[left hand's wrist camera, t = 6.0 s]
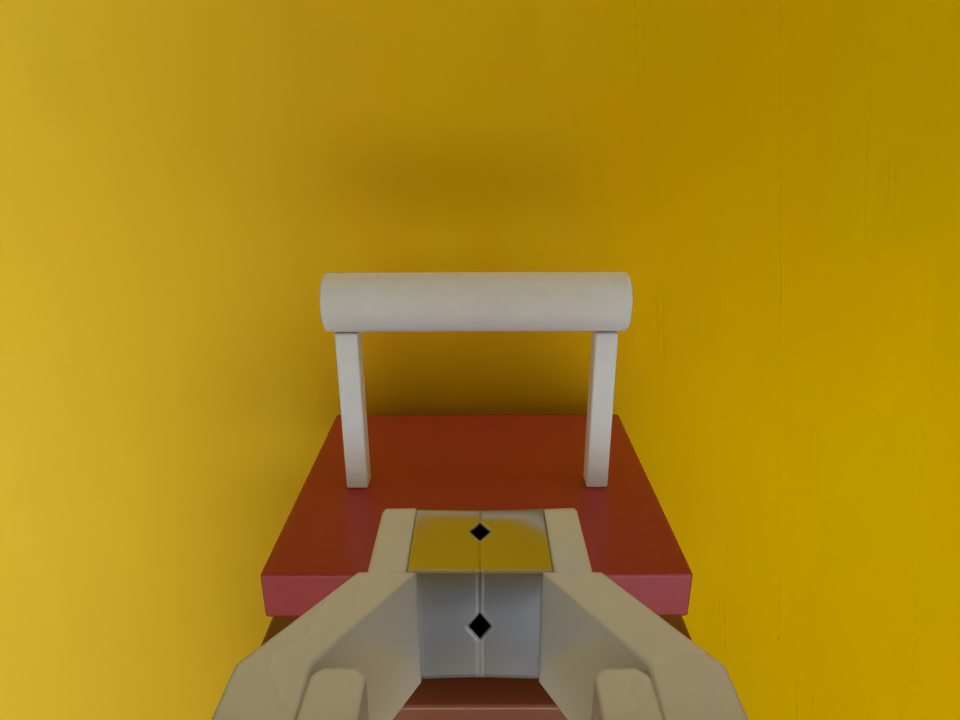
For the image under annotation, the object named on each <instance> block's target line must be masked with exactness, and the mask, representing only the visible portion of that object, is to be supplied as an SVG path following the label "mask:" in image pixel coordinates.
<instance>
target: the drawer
mask: <svg viewBox="0 0 960 720" xmlns="http://www.w3.org/2000/svg"><path fill="white" fill-rule="evenodd" d="M632 307H633V292H632V283H631V279H630V276H629V274H628V273H627V272H327V273H325V274H324V275H323V278H322V281H321V286H320V314H321V320H322V324H323V326H324V329H325V330H326V331H327V332H336V333H335V347H336V359H337V371H338V383H339V396H340V408H341V415H338V416H337V417H336V419H335V421H334V423H333V425H332V427H331V429H330V432H329V434H328V436H327V438H326V440H325V442H324V444H323V446H322V448H321V450H320V452H319V454H318V457H317V459H316V461H315V463H314V465H313V467H312V469H311V471H310V473H309V475H308V477H307V479H306V482H305V484H304V486H303V488H302V490H301V492H300V494H299V496H298V498H297V500H296V502H295V504H294V507H293V509H292V511H291V513H290V515H289V517H288V519H287V521H286V523H285V525H284V527H283V529H282V532H281V534H280V536H279V538H278V540H277V542H276V544H275V546H274V548H273V550H272V552H271V555H270V557H269V559H268V561H267V563H266V565H265V567H264V569H263V571H262V573H261V582H262V589H263V597H264V604H265V611H266V615H267V616H302V615H303V614H304V613H306V612H307V611H308V610H310V609H311V608H312V607H313V606H315V605H316V604H317V603H319V602H320V601H321V600H323V599H324V598H325V597H327V596H328V595H329V594H331V593H332V592H333V591H335V590H336V589H337V588H339V587H340V586H341V585H342V584H344V583H345V582H346V581H348V580H349V579H350V578H352V577H353V576H354V575H356V574H357V573H359V572H368V569H369V565H370V561H371V557H372V553H373V549H374V545H375V541H376V537H377V533H378V529H379V525H380V521H381V517H382V513H383V512H384V510H385V509H389V508H416V509H417V510H418V509H465V510H480V511H494V510H534V509H558V508H574V509H575V510H576V511H577V514H578V518H579V521H580V525H581V529H582V533H583V537H584V541H585V545H586V549H587V553H588V557H589V561H590V565H591V569H592V572H601V573H603V574H604V575H606V576H607V577H608V578H610V579H611V580H612V581H614V582H615V583H616V584H617V585H619V586H620V587H621V588H623V589H624V590H625V591H627V592H628V593H629V594H631V595H632V596H633V597H635V598H636V599H637V600H638V601H640V602H641V603H642V604H644V605H645V606H646V607H648V608H649V609H650V610H652V611H653V612H654V613H656V614H657V615H687V613H688V606H689V598H690V590H691V583H692V575H693V574H692V572H691V570H690V568H689V566H688V563H687V561H686V559H685V557H684V555H683V553H682V551H681V548H680V546H679V544H678V542H677V540H676V538H675V536H674V534H673V531H672V529H671V527H670V525H669V523H668V521H667V519H666V516H665V514H664V512H663V510H662V508H661V506H660V504H659V501H658V499H657V497H656V495H655V493H654V491H653V489H652V487H651V484H650V482H649V480H648V478H647V476H646V474H645V472H644V469H643V467H642V465H641V463H640V461H639V459H638V457H637V454H636V452H635V450H634V448H633V446H632V444H631V442H630V440H629V437H628V435H627V433H626V431H625V429H624V427H623V425H622V422H621V420H620V418H619V416H618V415H612V414H613V400H614V386H615V372H616V359H617V345H618V333H617V332H616V331H626V330H627V329H628V327H629V325H630V321H631V316H632ZM497 331H592V338H591V355H590V372H589V389H588V406H587V415H367V411H366V396H365V381H364V367H363V352H362V337H361V332H497Z"/></svg>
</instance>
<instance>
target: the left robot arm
mask: <svg viewBox="0 0 960 720" xmlns="http://www.w3.org/2000/svg"><path fill="white" fill-rule="evenodd" d="M459 677H500V678H535V679H539V682H540V684H541V685H542V686H543V688H544V689H545V690H546V692H547V693H548V694H549V696H550V697H551V698H552V700H553V701H554V702H555V704H556V705H557V706H558V708H559V709H560V710H561V711H562V713H563V714H564V715H565V717H566V718H567V719H568V720H749V719H748V717H747V715H746V713H745V710H744V708H743V706H742V704H741V702H740V699H739V697H738V695H737V693H736V690H735V688H734V686H733V684H732V681H731V679H730V677H729V675H728V672H727V670H726V668H725V666H724V665H722V664H721V663H720V662H719V661H717V660H716V659H715V658H713V657H712V656H711V655H709V654H708V653H707V652H705V651H704V650H703V649H701V648H700V647H699V646H698V645H696V644H695V643H694V642H692V641H691V640H690V639H688V638H687V637H686V636H684V635H683V634H682V633H680V632H679V631H678V630H677V629H675V628H674V627H673V626H671V625H670V624H669V623H667V622H666V621H665V620H663V619H662V618H661V617H659V616H658V615H657V614H656V613H654V612H653V611H652V610H650V609H649V608H648V607H646V606H645V605H644V604H642V603H641V602H640V601H638V600H637V599H636V598H635V597H633V596H632V595H631V594H629V593H628V592H627V591H625V590H624V589H623V588H621V587H620V586H619V585H617V584H616V583H615V582H614V581H612V580H611V579H610V578H608V577H607V576H606V575H604V574H603V573H601V572H592V569H591V565H590V561H589V557H588V553H587V549H586V545H585V541H584V537H583V533H582V529H581V525H580V521H579V518H578V514H577V511H576V510H575V509H574V508H558V509H534V510H494V511H480V510H465V509H418V510H417V509H416V508H389V509H385V510H384V512H383V513H382V517H381V521H380V525H379V529H378V533H377V537H376V541H375V545H374V549H373V553H372V557H371V561H370V565H369V569H368V572H359V573H357V574H356V575H354V576H353V577H352V578H350V579H349V580H348V581H346V582H345V583H344V584H342V585H341V586H340V587H339V588H337V589H336V590H335V591H333V592H332V593H331V594H329V595H328V596H327V597H325V598H324V599H323V600H321V601H320V602H319V603H317V604H316V605H315V606H313V607H312V608H311V609H310V610H308V611H307V612H306V613H304V614H303V615H302V616H300V617H299V618H298V619H296V620H295V621H294V622H292V623H291V624H290V625H288V626H287V627H286V628H284V629H283V630H282V631H281V632H279V633H278V634H277V635H275V636H274V637H273V638H271V639H270V640H269V641H267V642H266V643H265V644H263V645H262V646H261V647H259V648H258V649H257V650H255V651H254V652H253V653H251V654H250V655H249V656H248V657H246V658H245V659H244V660H242V661H241V662H240V663H238V664H237V665H236V666H235V669H234V671H233V673H232V675H231V677H230V680H229V682H228V684H227V686H226V689H225V691H224V693H223V695H222V697H221V700H220V702H219V704H218V706H217V708H216V711H215V713H214V715H213V717H212V720H393V719H394V717H395V716H396V715H397V713H398V712H399V711H400V709H401V708H402V707H403V705H404V704H405V703H406V702H407V700H408V699H409V698H410V696H411V695H412V694H413V692H414V691H415V690H416V688H417V687H418V686H419V684H420V683H421V679H425V678H459Z"/></svg>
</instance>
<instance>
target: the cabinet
mask: <svg viewBox="0 0 960 720" xmlns="http://www.w3.org/2000/svg"><path fill="white" fill-rule="evenodd" d="M658 616H659V617H661V618H662V619H663V620H665V621H666V622H667V623H669V624H670V625H671V626H673V627H674V628H675V629H677V630H678V631H679V632H680V633H682V634H683V635H684V636H686V637H687V638H688V639H690V640H691V637H690V635H689V632H688V630H687V628H686V625H685V623H684V620H683V618H682V615H658ZM299 617H300V616H273V618H272V621H271V623H270V625H269V628H268V630H267V633H266V635H265V638H264V640H263V642H262V645H263V644H265V643H266V642H267V641H269V640H270V639H271V638H273V637H274V636H275V635H277V634H278V633H279V632H281V631H282V630H283V629H284V628H286V627H287V626H288V625H290V624H291V623H292V622H294V621H295V620H296V619H298V618H299ZM691 641H692V640H691ZM262 645H261V646H262ZM393 720H568V719H567V718H566V717H565V715H564V714H563V713H562V711H561V710H560V709H559V708H558V706H557V705H556V704H555V702H554V701H553V700H552V698H551V697H550V696H549V694H548V693H547V692H546V690H545V689H544V688H543V686H542V685H541V684H540V682H539V679H535V678H500V677H459V678H425V679H421V683H420V684H419V686H418V687H417V688H416V690H415V691H414V692H413V694H412V695H411V696H410V698H409V699H408V700H407V702H406V703H405V704H404V705H403V707H402V708H401V709H400V711H399V712H398V713H397V715H396V716H395V717H394V719H393Z"/></svg>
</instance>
